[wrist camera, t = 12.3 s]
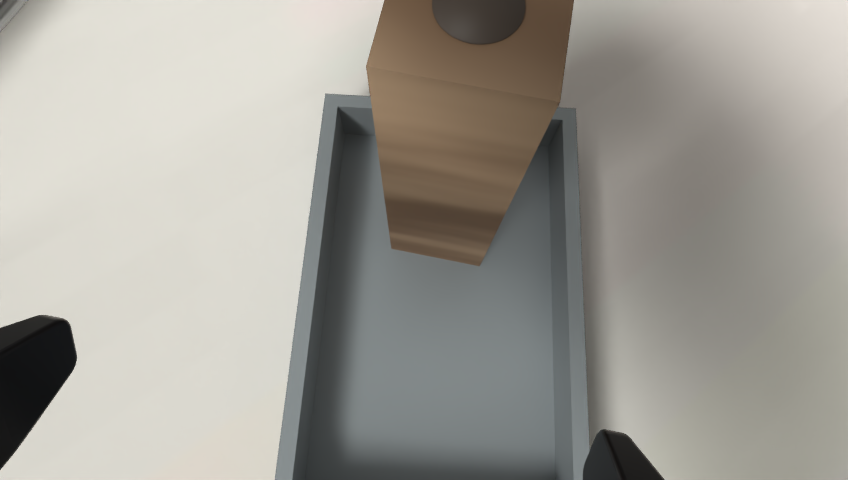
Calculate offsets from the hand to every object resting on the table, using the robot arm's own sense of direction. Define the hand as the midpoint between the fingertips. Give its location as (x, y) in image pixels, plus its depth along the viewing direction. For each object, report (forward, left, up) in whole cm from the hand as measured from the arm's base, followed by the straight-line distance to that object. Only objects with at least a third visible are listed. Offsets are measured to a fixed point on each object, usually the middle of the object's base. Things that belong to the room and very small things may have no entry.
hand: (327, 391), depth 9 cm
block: (+8, -2, -13) cm, 16 cm away
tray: (+4, -2, -14) cm, 14 cm away
